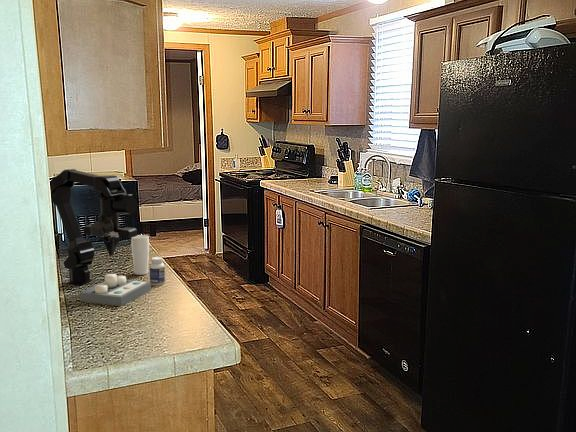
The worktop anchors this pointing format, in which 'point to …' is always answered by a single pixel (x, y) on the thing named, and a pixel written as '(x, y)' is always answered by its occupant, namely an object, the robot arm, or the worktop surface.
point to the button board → (116, 293)
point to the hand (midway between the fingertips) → (111, 255)
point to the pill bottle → (157, 271)
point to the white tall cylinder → (140, 254)
